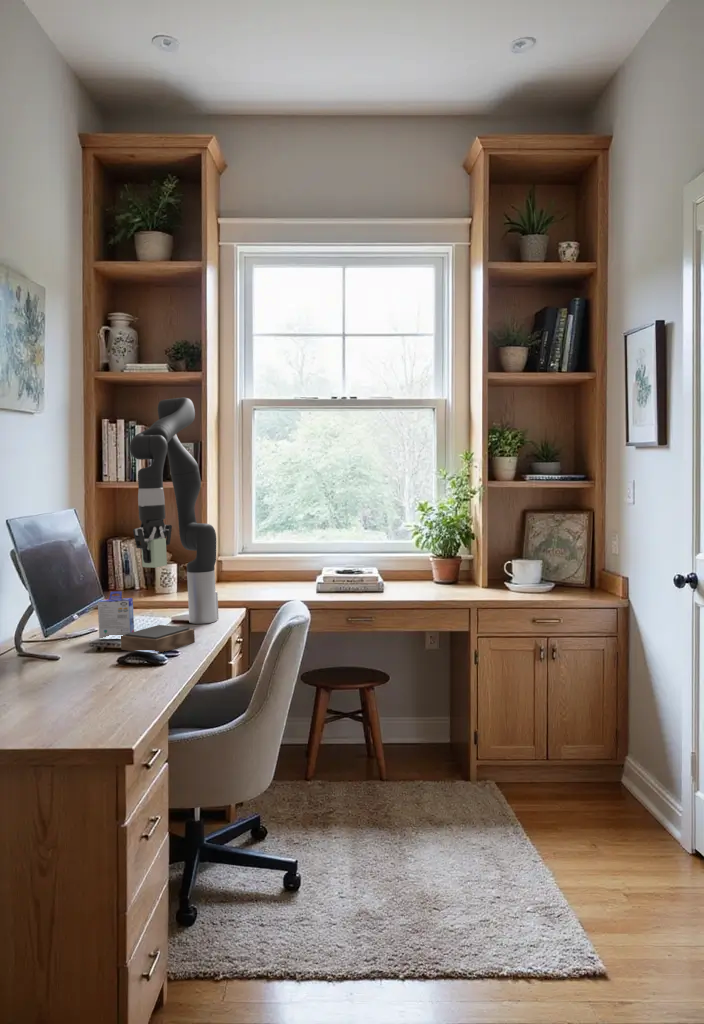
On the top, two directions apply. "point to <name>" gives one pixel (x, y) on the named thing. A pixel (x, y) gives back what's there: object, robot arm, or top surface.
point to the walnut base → (158, 638)
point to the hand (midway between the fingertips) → (154, 561)
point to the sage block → (157, 553)
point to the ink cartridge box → (115, 615)
